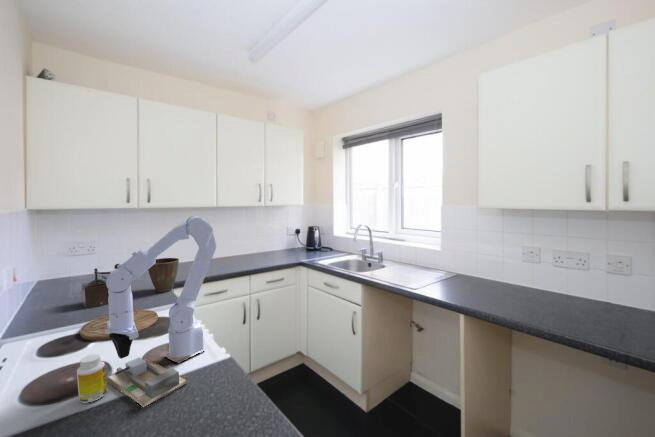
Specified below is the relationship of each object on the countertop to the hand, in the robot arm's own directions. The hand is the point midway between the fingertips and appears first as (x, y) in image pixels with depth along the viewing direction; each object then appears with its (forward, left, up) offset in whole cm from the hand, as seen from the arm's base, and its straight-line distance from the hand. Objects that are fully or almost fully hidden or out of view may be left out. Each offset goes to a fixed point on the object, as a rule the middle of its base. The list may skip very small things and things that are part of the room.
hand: (123, 356), depth 89 cm
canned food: (-33, -90, -4) cm, 96 cm away
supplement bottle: (+10, +7, -4) cm, 13 cm away
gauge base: (0, +12, -4) cm, 13 cm away
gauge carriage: (+1, +7, -3) cm, 8 cm away
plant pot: (-47, -63, -4) cm, 79 cm away
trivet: (-14, -34, -4) cm, 37 cm away
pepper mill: (-22, -70, -4) cm, 73 cm away
